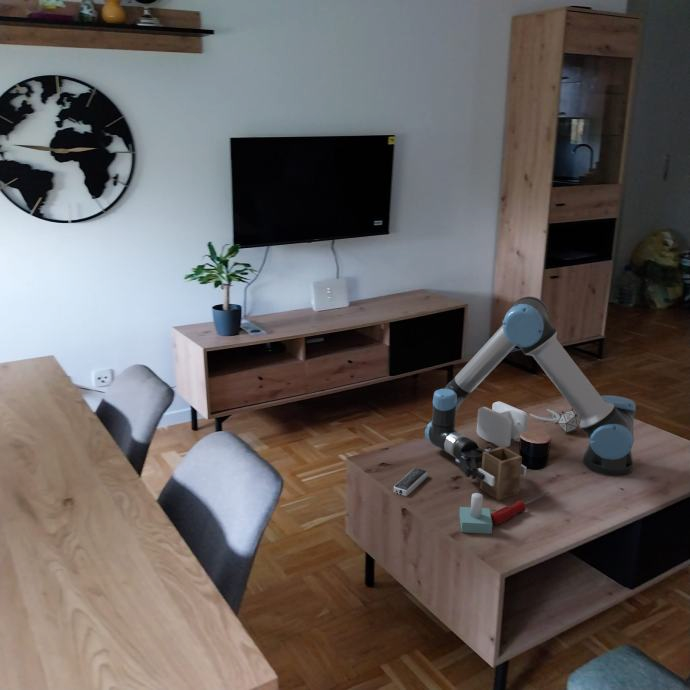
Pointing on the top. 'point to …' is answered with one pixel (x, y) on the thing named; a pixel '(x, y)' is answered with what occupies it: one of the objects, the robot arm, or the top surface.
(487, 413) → the cable organizer
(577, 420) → the game die
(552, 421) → the pliers
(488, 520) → the post stand
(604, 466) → the robot arm
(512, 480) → the brown tall open box
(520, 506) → the screwdriver
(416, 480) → the multiport hub
